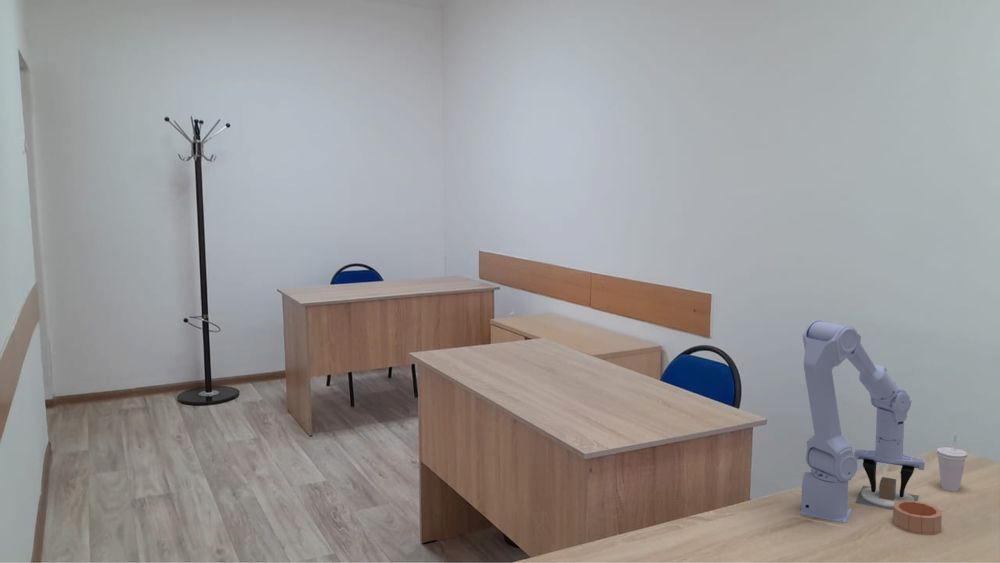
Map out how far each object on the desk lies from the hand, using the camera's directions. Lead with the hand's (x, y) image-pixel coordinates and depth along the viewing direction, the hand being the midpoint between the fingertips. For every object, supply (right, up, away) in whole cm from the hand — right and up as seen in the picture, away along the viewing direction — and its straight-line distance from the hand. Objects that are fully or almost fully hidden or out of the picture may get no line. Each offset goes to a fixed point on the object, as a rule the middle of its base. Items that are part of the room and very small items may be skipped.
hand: (887, 493), depth 172 cm
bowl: (-1, -3, -14) cm, 14 cm away
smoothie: (+18, -1, +6) cm, 19 cm away
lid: (0, -1, 0) cm, 1 cm away
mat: (0, -2, 0) cm, 2 cm away
